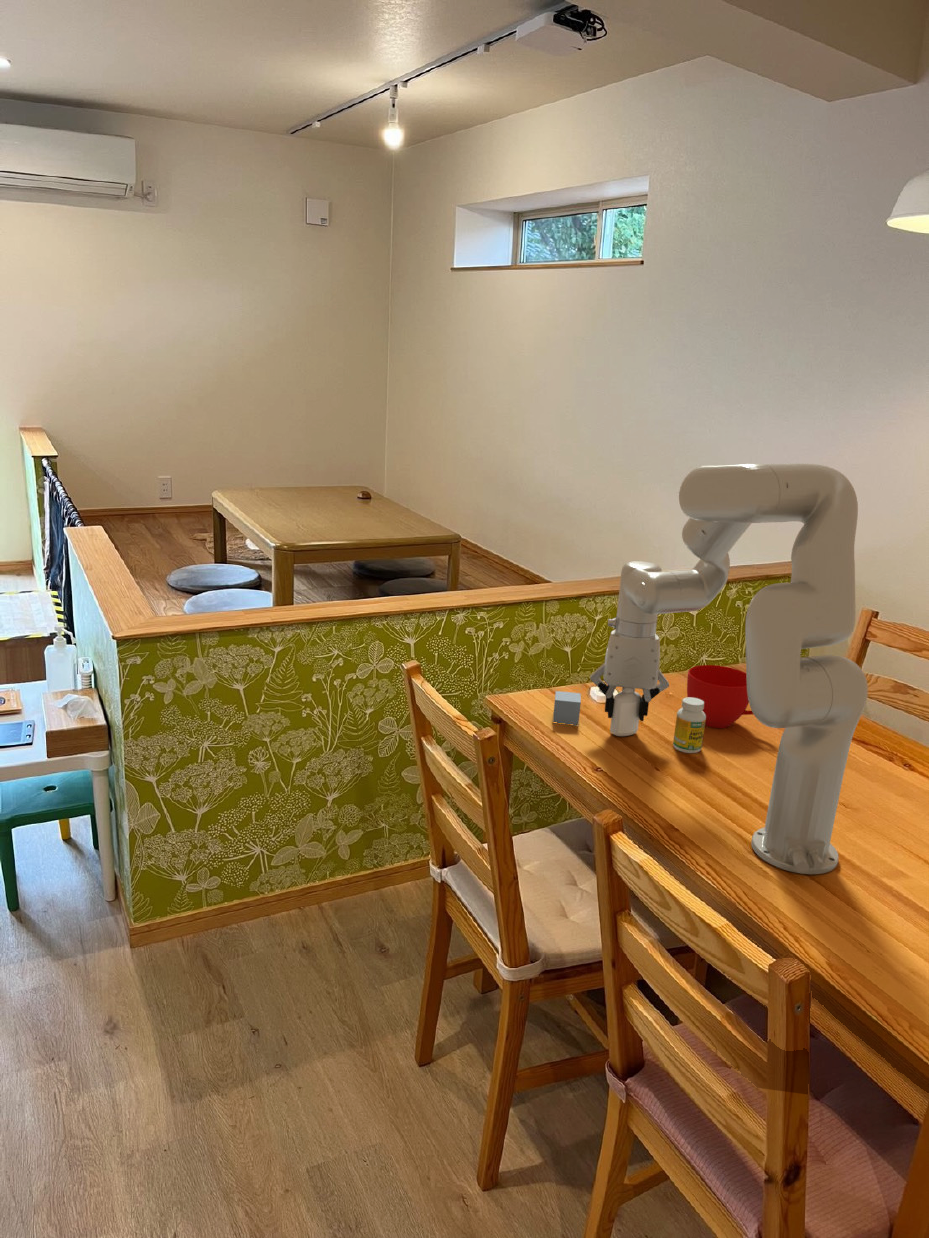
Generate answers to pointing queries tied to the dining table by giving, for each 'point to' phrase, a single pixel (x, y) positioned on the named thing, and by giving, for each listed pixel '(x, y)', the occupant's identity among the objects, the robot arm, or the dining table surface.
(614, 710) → the eye dropper bottle
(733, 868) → the dining table surface
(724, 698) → the ceramic cup
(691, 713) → the supplement bottle
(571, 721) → the slate block
